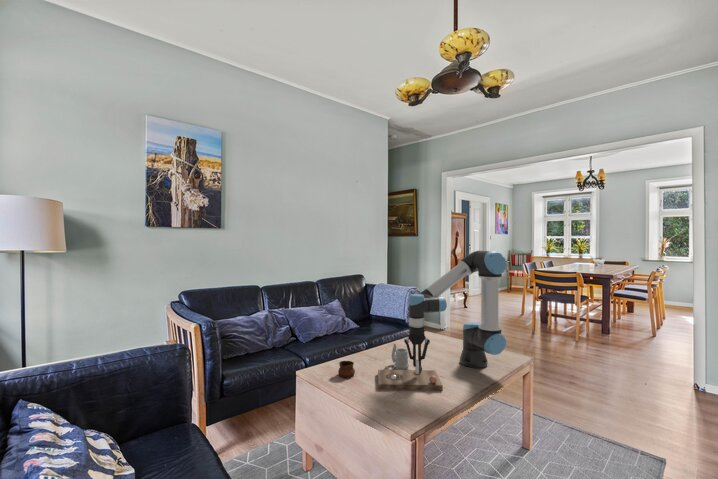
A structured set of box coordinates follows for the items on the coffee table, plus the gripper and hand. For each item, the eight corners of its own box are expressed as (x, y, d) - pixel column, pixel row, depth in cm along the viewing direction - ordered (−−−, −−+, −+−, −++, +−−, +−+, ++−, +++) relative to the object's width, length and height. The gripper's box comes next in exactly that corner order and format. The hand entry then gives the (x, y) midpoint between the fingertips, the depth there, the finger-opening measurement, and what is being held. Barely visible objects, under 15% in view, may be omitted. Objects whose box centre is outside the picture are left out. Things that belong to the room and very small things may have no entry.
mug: (401, 371, 184) (401, 349, 184) (386, 365, 193) (387, 343, 193) (411, 368, 188) (411, 346, 188) (397, 362, 198) (397, 341, 198)
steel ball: (388, 376, 173) (392, 382, 172) (389, 378, 169) (392, 384, 169) (394, 372, 173) (398, 378, 172) (395, 374, 169) (398, 380, 169)
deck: (435, 375, 179) (435, 370, 179) (442, 390, 161) (442, 385, 161) (377, 374, 180) (377, 369, 180) (378, 389, 162) (378, 384, 162)
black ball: (421, 370, 179) (421, 364, 179) (422, 373, 175) (422, 366, 175) (414, 370, 179) (414, 364, 179) (415, 373, 175) (415, 366, 175)
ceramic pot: (331, 384, 168) (331, 369, 168) (327, 370, 186) (327, 357, 186) (367, 382, 172) (367, 367, 172) (360, 369, 189) (360, 356, 189)
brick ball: (436, 381, 165) (436, 374, 165) (437, 384, 162) (437, 377, 162) (428, 381, 166) (428, 374, 165) (430, 384, 162) (430, 377, 162)
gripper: (428, 323, 174) (429, 369, 174) (402, 323, 174) (403, 369, 175) (431, 327, 166) (431, 376, 167) (404, 327, 167) (404, 375, 167)
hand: (417, 372), depth 171 cm, fingers closed
